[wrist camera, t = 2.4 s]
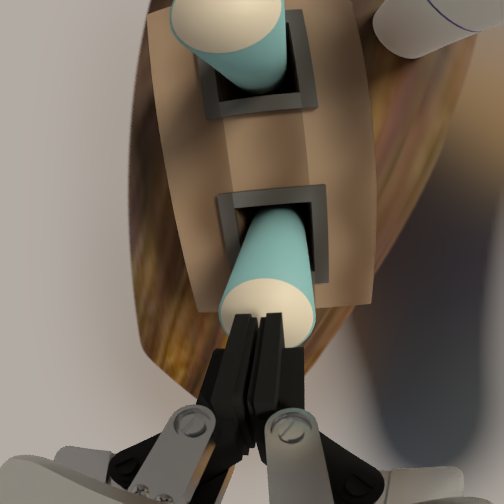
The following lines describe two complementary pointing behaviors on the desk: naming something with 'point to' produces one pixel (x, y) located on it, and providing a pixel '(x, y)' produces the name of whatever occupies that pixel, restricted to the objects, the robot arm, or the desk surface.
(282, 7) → the peg
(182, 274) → the desk surface
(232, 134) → the walnut block
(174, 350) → the desk surface
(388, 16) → the cylindrical container
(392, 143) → the desk surface
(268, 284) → the peg
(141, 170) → the desk surface
